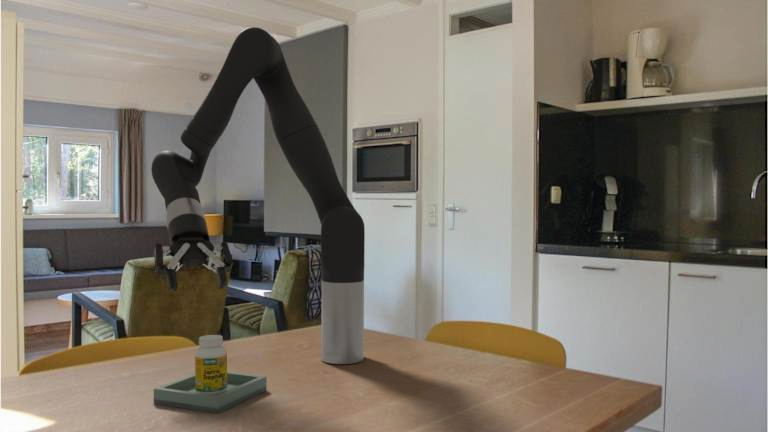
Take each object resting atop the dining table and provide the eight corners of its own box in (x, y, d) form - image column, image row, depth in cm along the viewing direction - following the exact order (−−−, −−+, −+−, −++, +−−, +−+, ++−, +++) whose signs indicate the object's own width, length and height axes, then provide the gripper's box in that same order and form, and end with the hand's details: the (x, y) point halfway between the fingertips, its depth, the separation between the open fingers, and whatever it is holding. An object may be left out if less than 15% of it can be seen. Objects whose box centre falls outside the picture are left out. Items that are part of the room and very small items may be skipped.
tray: (207, 382, 117) (207, 369, 117) (266, 390, 112) (266, 376, 112) (153, 403, 104) (153, 388, 104) (217, 413, 99) (217, 397, 99)
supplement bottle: (221, 386, 112) (221, 332, 112) (231, 393, 107) (231, 337, 107) (191, 390, 109) (191, 335, 109) (200, 398, 104) (200, 341, 104)
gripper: (151, 212, 120) (161, 276, 110) (225, 212, 127) (240, 273, 117) (148, 238, 125) (156, 302, 115) (219, 237, 132) (233, 297, 122)
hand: (198, 287), depth 116 cm, fingers open, 8 cm apart
